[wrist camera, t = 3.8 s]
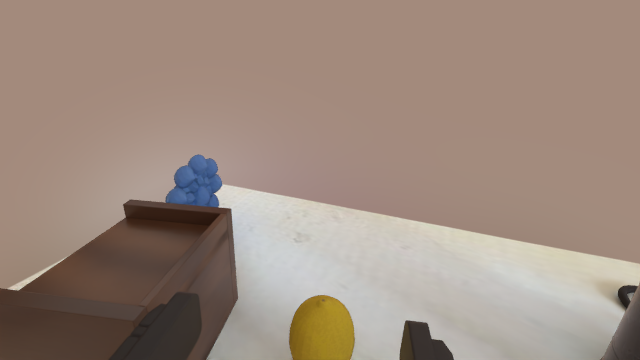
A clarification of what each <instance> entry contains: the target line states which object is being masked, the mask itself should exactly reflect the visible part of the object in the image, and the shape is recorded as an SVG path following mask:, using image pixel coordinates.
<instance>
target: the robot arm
mask: <svg viewBox="0 0 640 360" xmlns="http://www.w3.org/2000/svg"><path fill="white" fill-rule="evenodd" d="M628 293H634V295H633V297H632V299H631V301H630V300H629V298H628V296H627V294H628ZM618 297H619V299H620V301H621V302H622V304H623V305H624V306H625V307H626V308H627V310H626V312H625V314H624V316H623V318H622V320H621V322H620V324H619V326H618V328H617V330H616V332H615V334H614V336H613V338H612V340H611V342H610V344H609V346H608V348H607V350H606V352H605V355H604V356H603V357H602V358H601V359H600V360H640V283H639V285H638V286H631V285H628V286H623V287H621V288H620V289H619V290H618ZM201 331H202V317H201V308H200V300H199V295H198V294H196V293H188V292H180V291H178V292H176V293H175V294H174V295H173V297H172V298H171V299H170V300H169V302H168V303H167V304H162V303H161V304H160V305H159V306H157V307H156V308H154V309H153V310H151V311H150V312H148V313H147V315H146V316H145V317H144V318H143V319H142V320H141V322H140V323H139V325H138V326H136V328H135V329H134V330H133V331H132V332H131V335H130V336H128V337H127V338H126V339H125V341H124V342H123V343H122V344H121V345H120V346H119V348H118V349H117V350H116V351H115V352H114V354H113V355H112V356H111V357H110V358H109V359H108V360H187V358H188V357H189V355H190V353H191V352H192V350H193V348H194V347H195V345H196V343H197V341H198V340H199V337H200V334H201ZM400 360H454V358H453V355H452V353H451V352H450V350H449V349H448V348H447V346H446V345H445V344H444V342H443V341H442V340H434V339H431V335H430V331H429V327H428V324H427V323H424V322H416V321H408V320H406V321H405V325H404V331H403V337H402V343H401V349H400Z"/></svg>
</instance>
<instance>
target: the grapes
mask: <svg viewBox="0 0 640 360" xmlns="http://www.w3.org/2000/svg"><path fill="white" fill-rule="evenodd" d="M217 171H218V167H217V164H216V162H215V161H214V160H213V159H210V158H209V159H205V158H204V157H203V156H202V155H195V156H193V157H192V158H191V159H190V161H189V163H188V166H187V165H186V166H182V167H181V168H179V169H178V170H177V172H176V173H175V175H174V180H175V184H176V186H175V187H174V189H172V190H171V191H170V192H169V193H168V194H167V196H166V203H174V204H185V205H196V206H207V207H218V206H219V201H218V198H217V196H216V195H215V194H213V193H216V192H217V191H218V190H219V189H220V188H221V186H222V181H221V178H220V177H219V176H218V175H217V174H216V173H217Z"/></svg>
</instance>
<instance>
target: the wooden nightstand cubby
mask: <svg viewBox="0 0 640 360" xmlns="http://www.w3.org/2000/svg"><path fill="white" fill-rule="evenodd" d="M123 206H124V211H125V215H126V218H124V219H123V220H122V221H120V222H119V223H117V224H116V225H114V226H113V227H111V228H110V229H109V230H107V231H106V232H104V233H102V234H101V235H99V236H98V237H97V238H95V239H94V240H92V241H91V242H89V243H88V244H86V245H85V246H83V247H82V248H80V249H79V250H77V251H76V252H74V253H73V254H72V255H70V256H69V257H67V258H66V259H64V260H63V261H61V262H60V263H58V264H57V265H55V266H54V267H52V268H51V269H49V270H48V271H47V272H45V273H44V274H42V275H41V276H39V277H38V278H36V279H35V280H33V281H32V282H30V283H29V284H27V285H26V286H24V287H23V288H22V289H20V290H19V291H17V290H9V289H1V288H0V360H108V359H109V358H110V357H111V356H112V355H113V354H114V352H115V351H116V350H117V349H118V348H119V346H120V345H121V344H122V343H123V342H124V341H125V339H126V338H127V337H128V336H130V335H131V332H132V331H133V330H134V329H135V328H136V326H138V325H139V323H140V322H141V320H142V319H143V318H144V317H145V316H146V315H147V313H148V312H150V311H151V310H153V309H154V308H156V307H157V306H159V305H160V304H161V303H162V304H167V303H168V302H169V300H170V299H171V298H172V297H173V295H174V294H175V293H176V292H178V291H180V292H188V293H196V294H198V295H199V300H200V308H201V317H202V331H201V334H200V337H199V340H198V341H197V343H196V345H195V347H194V348H193V350H192V352H191V353H190V355H189V357H188V358H187V360H206V359H207V357H208V355H209V353H210V351H211V349H212V347H213V345H214V343H215V341H216V339H217V338H218V336H219V334H220V332H221V330H222V328H223V326H224V324H225V322H226V320H227V318H228V316H229V314H230V313H231V311H232V309H233V307H234V305H235V303H236V301H237V299H238V294H237V280H236V267H235V254H234V241H233V227H232V214H231V209H229V208H218V207H207V206H196V205H185V204H174V203H163V202H151V201H139V200H129V201H128V202H126V203H125V204H123Z"/></svg>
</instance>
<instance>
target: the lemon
mask: <svg viewBox="0 0 640 360" xmlns="http://www.w3.org/2000/svg"><path fill="white" fill-rule="evenodd" d="M354 341H355V338H354V326H353V322H352V319H351V316H350V314H349V311H348V310H347V309H346V307H345V306H344V305H343V304H342V303H341V302H340V301H339V300H337V299H335V298H333V297H330V296H326V295H318V296H314V297H311V298H309V299H307V300H306V301H305V302H303V303H302V304H301V305H300V306H299V308H298V309H297V311H296V312H295V315H294V317H293V320H292V323H291V327H290V334H289V345H290V350H291V354H292V358H293V360H350V359H351V356H352V352H353V348H354Z"/></svg>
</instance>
